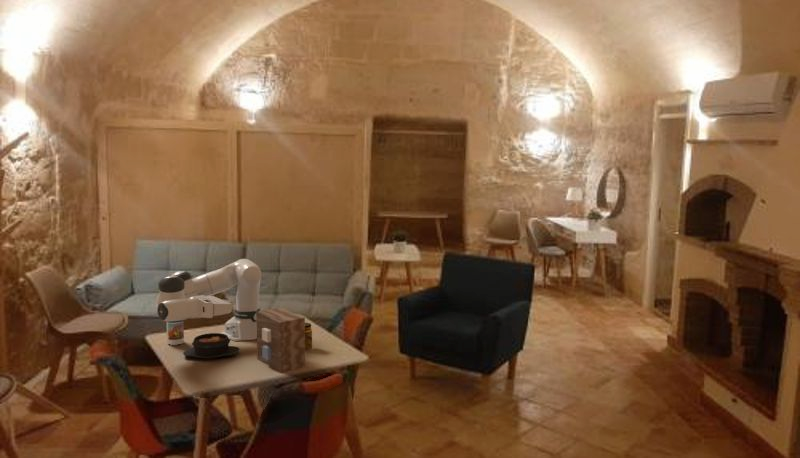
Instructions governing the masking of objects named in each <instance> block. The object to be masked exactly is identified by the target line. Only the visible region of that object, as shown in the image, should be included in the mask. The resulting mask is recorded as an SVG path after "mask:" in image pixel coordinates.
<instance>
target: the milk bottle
mask: <svg viewBox="0 0 800 458" xmlns="http://www.w3.org/2000/svg"><path fill="white" fill-rule="evenodd" d="M184 333H185V332H184V321H182V322H176V323H168V322H167V321H166V342H167V345H168V344H170V345H169V346H178V344H180V345H182V344H184V342H185V334H184Z"/></svg>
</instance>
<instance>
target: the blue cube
mask: <svg viewBox="0 0 800 458" xmlns="http://www.w3.org/2000/svg"><path fill="white" fill-rule="evenodd" d="M262 357H263V358H265V359H266V360H271V359H272V349H271V347H269V346H267V345H266V346H262Z"/></svg>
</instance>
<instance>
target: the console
mask: <svg viewBox="0 0 800 458" xmlns="http://www.w3.org/2000/svg"><path fill="white" fill-rule="evenodd" d="M305 319H306V317H304V316H301V315H298V314H296V313H295V312H292V311H289V310H287V309H284V308H282V307H276V308H270V309H265V310H260V311H258V312H256V320H257V339H256V354H257V355H256V356H257V357H256V358H257V360H258V361H260V362H262V363H263V364H265V365H268V366H269V367H271V368H272V369H274V370H276V371H278V373H279V372H280V373H285V372H288V371H292V370H293V371H294V370H297V369H300V368H304V367H306V351H305V323H306V320H305ZM263 328H268V329H270V330H271V342H266V341H264V340H262V329H263ZM266 345H267V346H269V347H271V349H272V359H271V360H266V359H265V358H263V357H262V346H266Z"/></svg>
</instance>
